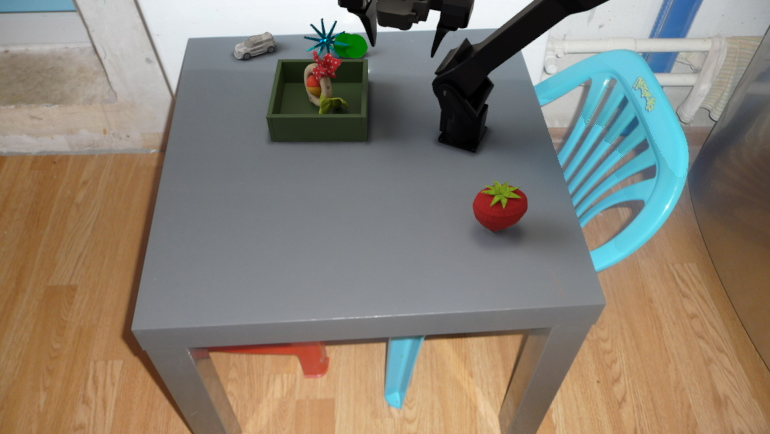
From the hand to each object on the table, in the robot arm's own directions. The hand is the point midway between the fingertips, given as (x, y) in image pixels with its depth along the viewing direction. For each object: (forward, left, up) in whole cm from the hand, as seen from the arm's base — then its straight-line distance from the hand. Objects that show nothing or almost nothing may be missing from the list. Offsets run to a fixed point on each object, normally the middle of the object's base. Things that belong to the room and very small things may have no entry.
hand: (402, 50), depth 89 cm
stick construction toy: (+19, -12, -13) cm, 26 cm away
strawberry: (-22, +17, -13) cm, 31 cm away
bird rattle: (+13, +4, -13) cm, 18 cm away
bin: (+13, +4, -13) cm, 19 cm away
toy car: (+33, -6, -13) cm, 36 cm away
